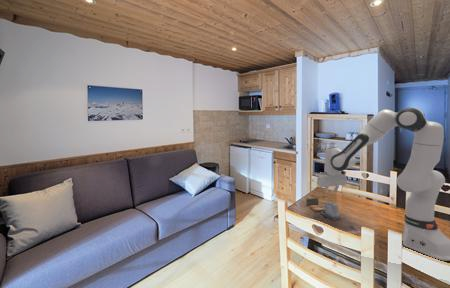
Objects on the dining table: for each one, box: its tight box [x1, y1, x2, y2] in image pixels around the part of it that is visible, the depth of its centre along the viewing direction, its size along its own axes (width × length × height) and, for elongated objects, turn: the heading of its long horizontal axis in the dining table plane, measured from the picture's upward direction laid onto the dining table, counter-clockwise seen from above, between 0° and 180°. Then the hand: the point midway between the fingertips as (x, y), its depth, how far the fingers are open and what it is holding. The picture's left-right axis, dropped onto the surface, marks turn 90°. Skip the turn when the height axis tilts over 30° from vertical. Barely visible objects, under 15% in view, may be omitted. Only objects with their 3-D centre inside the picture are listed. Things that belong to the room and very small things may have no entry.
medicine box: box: [324, 201, 339, 217], centre depth 146 cm, size 8×4×9 cm, turn 13°
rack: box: [305, 197, 325, 213], centre depth 160 cm, size 12×9×6 cm
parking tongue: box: [319, 211, 342, 221], centre depth 146 cm, size 12×7×2 cm, turn 13°
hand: (331, 192), depth 146 cm, fingers open, 4 cm apart
